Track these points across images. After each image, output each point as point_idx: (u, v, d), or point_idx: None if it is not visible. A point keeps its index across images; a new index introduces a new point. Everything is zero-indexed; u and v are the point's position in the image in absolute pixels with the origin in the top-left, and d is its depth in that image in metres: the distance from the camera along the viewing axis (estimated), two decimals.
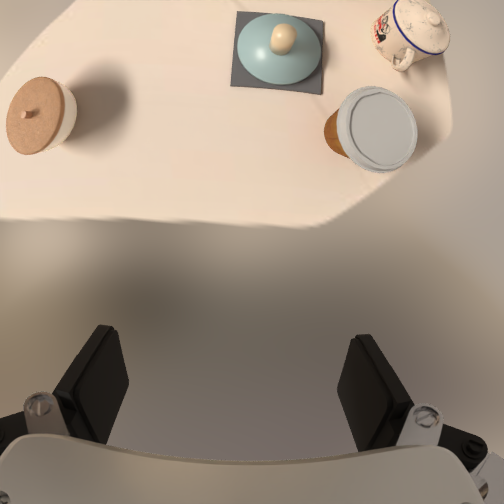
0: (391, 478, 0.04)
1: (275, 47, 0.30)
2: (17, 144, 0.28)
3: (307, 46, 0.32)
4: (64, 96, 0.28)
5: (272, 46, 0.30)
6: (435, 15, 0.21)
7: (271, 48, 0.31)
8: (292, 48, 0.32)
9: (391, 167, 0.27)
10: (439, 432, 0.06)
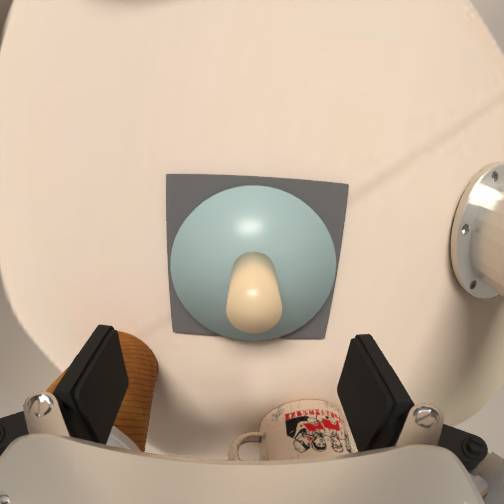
0: (391, 478, 0.04)
1: (234, 273, 0.17)
2: None
3: None
4: None
5: (239, 266, 0.17)
6: None
7: (241, 259, 0.18)
8: None
9: None
10: (439, 432, 0.06)
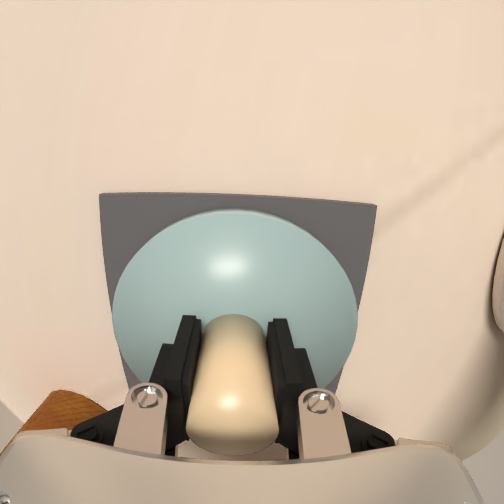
0: (391, 478, 0.04)
1: (201, 358, 0.10)
2: None
3: None
4: None
5: (209, 345, 0.10)
6: None
7: (213, 330, 0.11)
8: None
9: None
10: (340, 413, 0.07)
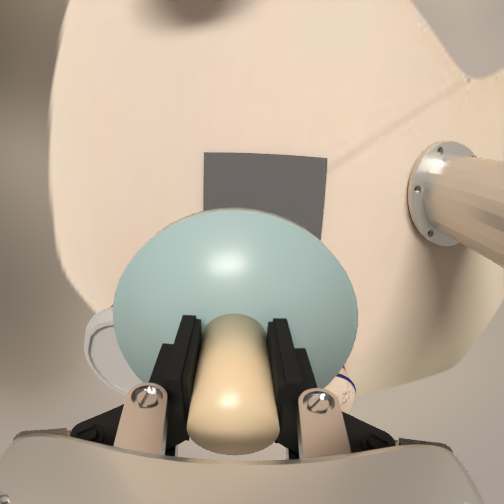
0: (391, 478, 0.04)
1: (201, 357, 0.10)
2: None
3: None
4: None
5: (210, 345, 0.10)
6: None
7: (213, 330, 0.11)
8: None
9: (92, 368, 0.22)
10: (340, 413, 0.07)
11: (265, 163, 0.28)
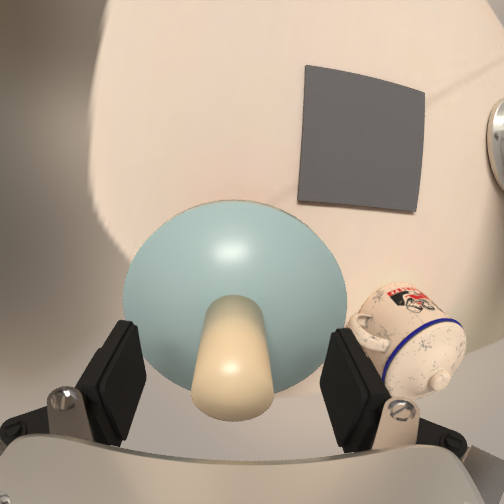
0: (391, 478, 0.04)
1: (204, 332, 0.12)
2: None
3: None
4: None
5: (212, 321, 0.12)
6: (445, 384, 0.19)
7: (215, 309, 0.13)
8: None
9: None
10: (417, 424, 0.06)
11: (370, 86, 0.22)
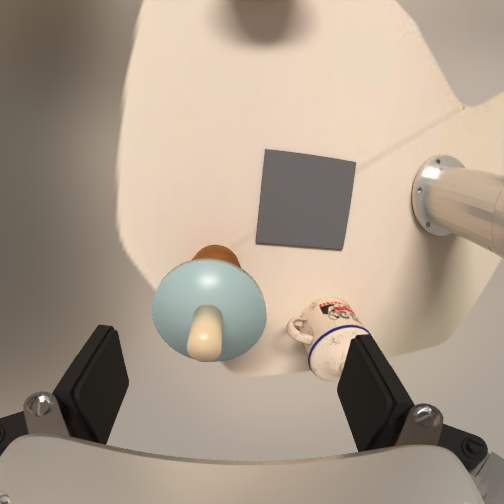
0: (391, 478, 0.04)
1: (193, 321, 0.25)
2: None
3: None
4: None
5: (197, 316, 0.26)
6: None
7: (198, 311, 0.26)
8: None
9: None
10: (439, 432, 0.06)
11: (311, 162, 0.36)
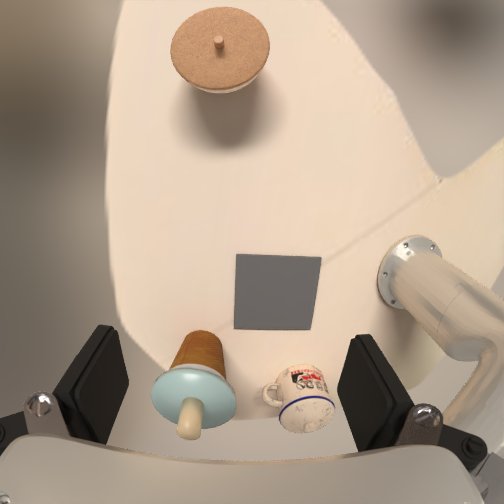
0: (391, 478, 0.04)
1: (181, 412, 0.32)
2: (187, 27, 0.25)
3: None
4: (234, 88, 0.29)
5: (183, 408, 0.32)
6: (313, 429, 0.39)
7: (184, 403, 0.33)
8: None
9: None
10: (439, 432, 0.06)
11: (278, 262, 0.42)
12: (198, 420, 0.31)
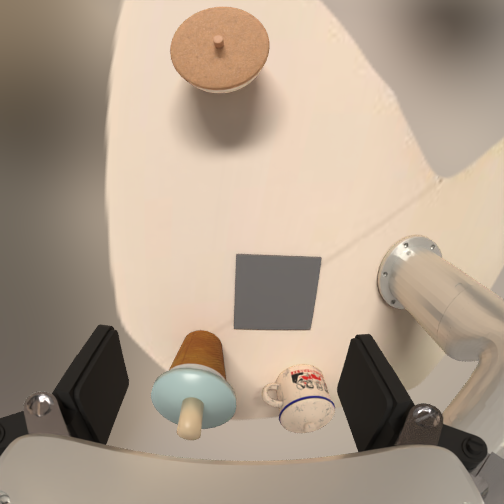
0: (391, 478, 0.04)
1: (181, 412, 0.32)
2: (186, 27, 0.25)
3: None
4: (233, 87, 0.29)
5: (183, 408, 0.32)
6: (313, 429, 0.39)
7: (185, 403, 0.33)
8: None
9: None
10: (439, 432, 0.06)
11: (278, 262, 0.42)
12: (198, 420, 0.31)
